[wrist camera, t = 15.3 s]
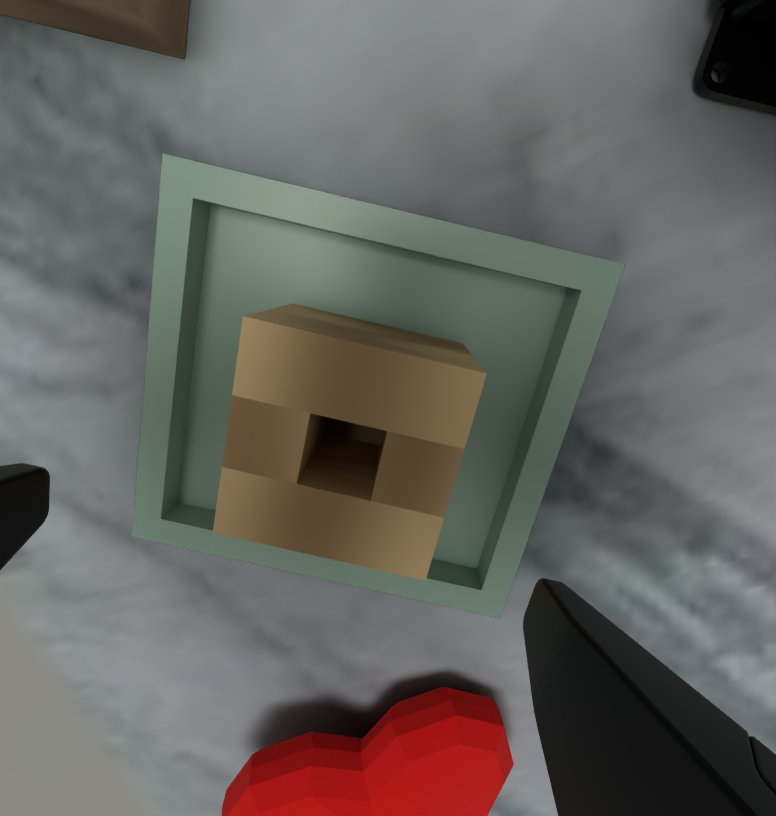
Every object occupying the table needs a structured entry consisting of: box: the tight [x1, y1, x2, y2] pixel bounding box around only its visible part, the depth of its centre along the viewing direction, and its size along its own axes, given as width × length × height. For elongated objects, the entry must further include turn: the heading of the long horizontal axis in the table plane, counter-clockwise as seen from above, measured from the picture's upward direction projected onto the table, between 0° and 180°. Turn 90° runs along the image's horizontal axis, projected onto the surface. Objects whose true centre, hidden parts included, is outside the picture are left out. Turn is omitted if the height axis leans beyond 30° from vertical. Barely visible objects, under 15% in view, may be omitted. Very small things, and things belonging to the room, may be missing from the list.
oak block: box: [213, 303, 487, 581], centre depth 15 cm, size 6×6×5 cm
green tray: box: [132, 154, 625, 618], centre depth 17 cm, size 14×13×2 cm
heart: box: [222, 687, 514, 816], centre depth 21 cm, size 12×4×10 cm
